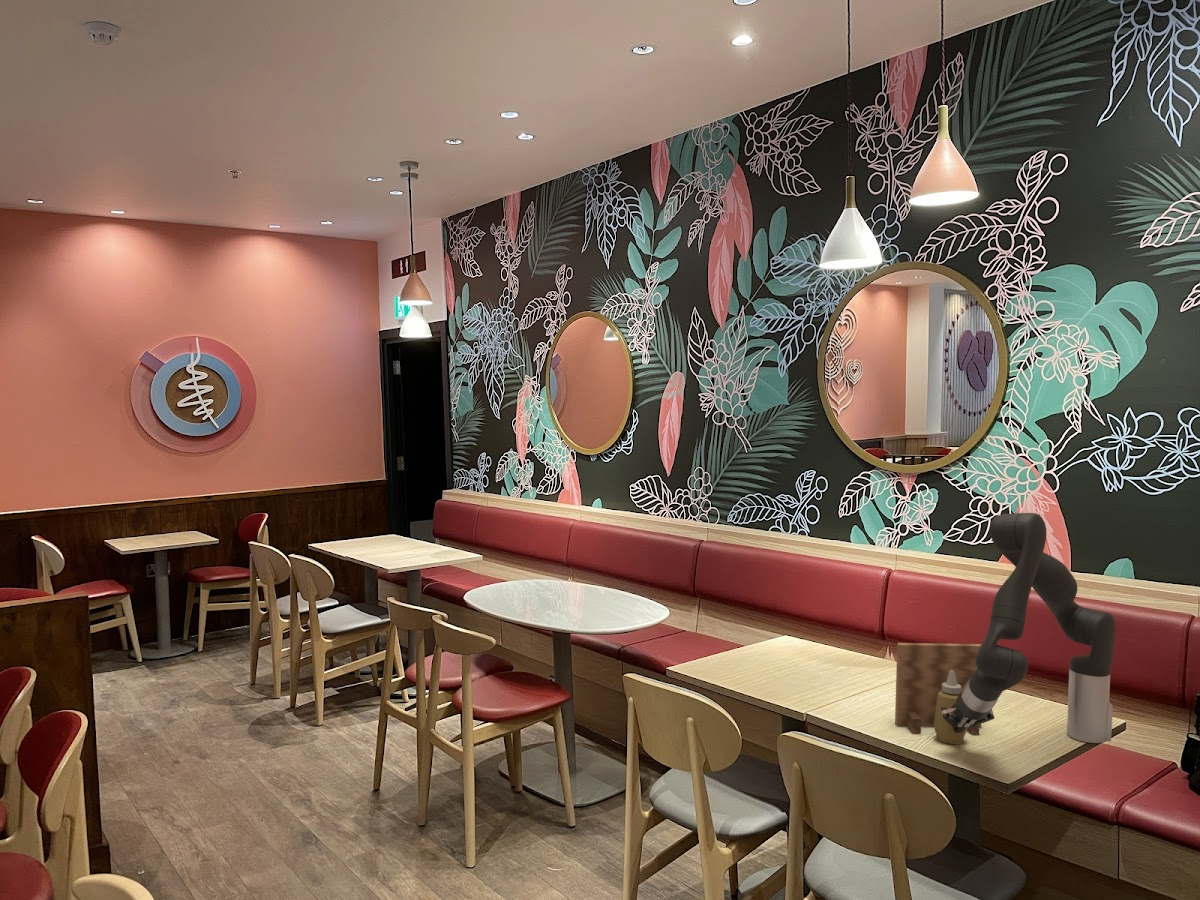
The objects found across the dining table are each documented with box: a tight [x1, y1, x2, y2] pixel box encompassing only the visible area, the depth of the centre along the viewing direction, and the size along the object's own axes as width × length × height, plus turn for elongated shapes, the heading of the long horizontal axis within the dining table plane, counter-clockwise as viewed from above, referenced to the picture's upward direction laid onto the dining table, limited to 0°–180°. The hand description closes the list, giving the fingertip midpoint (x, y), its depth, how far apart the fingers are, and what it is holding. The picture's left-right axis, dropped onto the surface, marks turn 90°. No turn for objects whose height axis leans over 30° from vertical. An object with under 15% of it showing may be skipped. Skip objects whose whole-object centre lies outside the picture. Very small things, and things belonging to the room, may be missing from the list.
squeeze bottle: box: [933, 670, 968, 745], centre depth 226 cm, size 8×8×18 cm
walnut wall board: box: [894, 642, 982, 736], centre depth 233 cm, size 22×7×22 cm, turn 88°
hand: (956, 729), depth 223 cm, fingers closed
